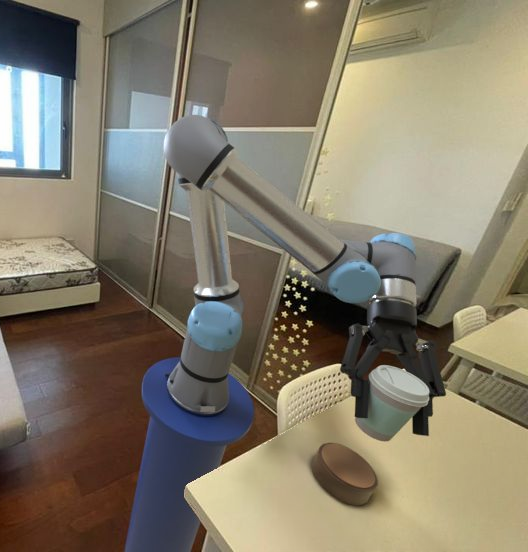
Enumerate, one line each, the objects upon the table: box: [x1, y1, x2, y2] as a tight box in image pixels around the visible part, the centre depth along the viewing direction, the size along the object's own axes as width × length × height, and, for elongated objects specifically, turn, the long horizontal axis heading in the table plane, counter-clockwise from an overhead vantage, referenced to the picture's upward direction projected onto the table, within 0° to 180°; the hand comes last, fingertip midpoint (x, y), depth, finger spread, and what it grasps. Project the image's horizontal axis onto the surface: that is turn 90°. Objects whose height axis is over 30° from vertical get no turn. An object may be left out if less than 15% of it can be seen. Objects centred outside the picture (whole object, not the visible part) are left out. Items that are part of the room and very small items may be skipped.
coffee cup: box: [354, 364, 429, 442], centre depth 58 cm, size 8×8×12 cm
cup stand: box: [311, 442, 379, 506], centre depth 63 cm, size 10×10×4 cm
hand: (390, 425), depth 56 cm, fingers closed on coffee cup, 8 cm apart
